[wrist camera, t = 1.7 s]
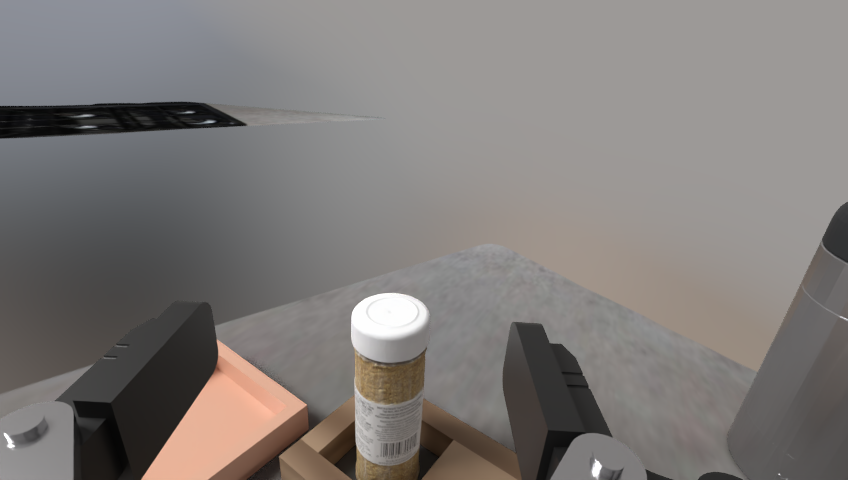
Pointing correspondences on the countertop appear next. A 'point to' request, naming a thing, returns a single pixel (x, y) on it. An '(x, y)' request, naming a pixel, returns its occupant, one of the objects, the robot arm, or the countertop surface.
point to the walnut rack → (440, 433)
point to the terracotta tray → (231, 426)
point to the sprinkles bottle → (389, 384)
